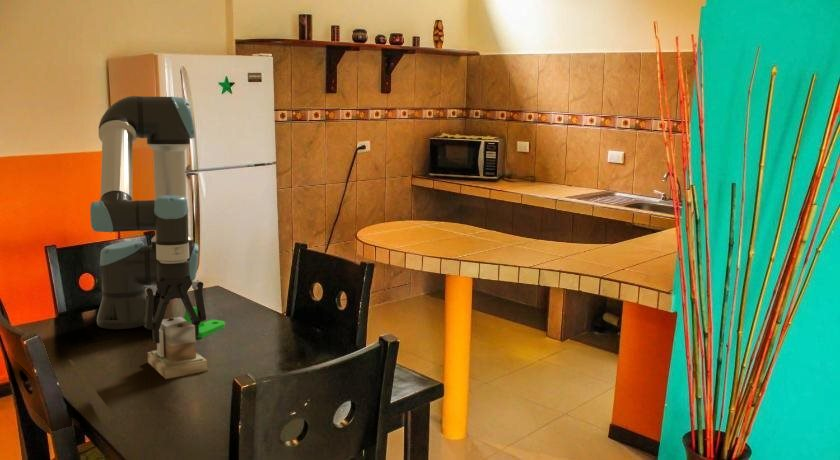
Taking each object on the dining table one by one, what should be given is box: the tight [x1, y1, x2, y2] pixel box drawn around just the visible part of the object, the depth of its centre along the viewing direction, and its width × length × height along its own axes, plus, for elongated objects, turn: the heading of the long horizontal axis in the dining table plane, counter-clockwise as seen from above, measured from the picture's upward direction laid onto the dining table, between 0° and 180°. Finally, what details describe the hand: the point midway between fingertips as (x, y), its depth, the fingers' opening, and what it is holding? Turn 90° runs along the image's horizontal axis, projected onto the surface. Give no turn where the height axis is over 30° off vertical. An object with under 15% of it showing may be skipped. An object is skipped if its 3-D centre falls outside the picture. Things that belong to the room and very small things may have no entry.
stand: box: [147, 349, 208, 380], centre depth 181 cm, size 14×10×3 cm
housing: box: [160, 316, 197, 363], centre depth 180 cm, size 6×10×8 cm, turn 36°
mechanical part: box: [183, 306, 226, 339], centre depth 209 cm, size 12×6×8 cm, turn 158°
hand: (176, 352), depth 181 cm, fingers open, 7 cm apart
